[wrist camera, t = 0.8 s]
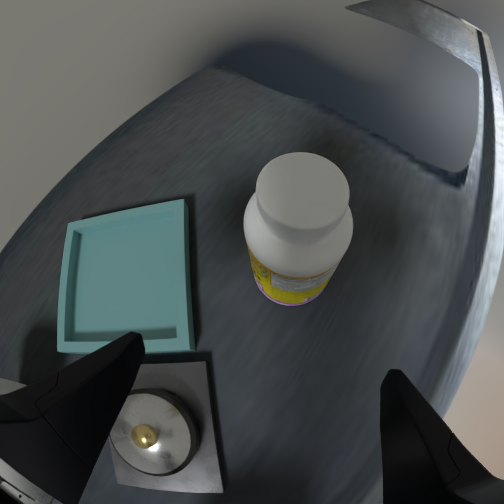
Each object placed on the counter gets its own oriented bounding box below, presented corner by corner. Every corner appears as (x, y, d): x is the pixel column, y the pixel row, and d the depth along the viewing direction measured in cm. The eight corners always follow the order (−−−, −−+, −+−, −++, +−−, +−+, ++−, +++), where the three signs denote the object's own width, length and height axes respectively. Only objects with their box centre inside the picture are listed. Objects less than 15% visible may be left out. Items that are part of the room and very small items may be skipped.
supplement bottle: (258, 233, 27) (247, 133, 16) (329, 240, 27) (364, 145, 15) (248, 303, 25) (224, 239, 13) (325, 312, 24) (371, 255, 12)
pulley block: (225, 488, 18) (217, 506, 15) (122, 480, 19) (102, 491, 15) (208, 361, 23) (196, 360, 20) (106, 364, 23) (83, 361, 20)
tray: (195, 351, 23) (189, 349, 22) (67, 353, 24) (57, 351, 22) (188, 208, 29) (183, 198, 27) (76, 230, 29) (68, 223, 28)
